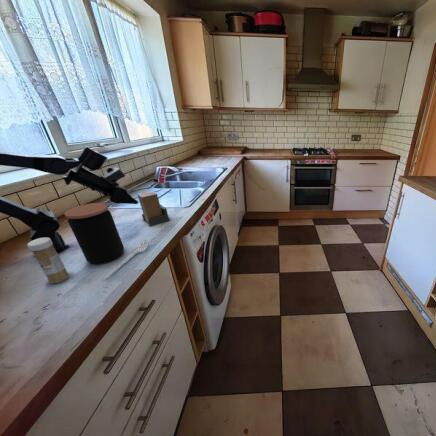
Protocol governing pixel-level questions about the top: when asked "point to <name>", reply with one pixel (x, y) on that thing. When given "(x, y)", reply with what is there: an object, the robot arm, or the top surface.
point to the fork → (130, 257)
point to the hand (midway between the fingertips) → (134, 200)
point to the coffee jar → (95, 232)
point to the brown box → (150, 205)
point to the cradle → (158, 219)
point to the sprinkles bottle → (48, 259)
